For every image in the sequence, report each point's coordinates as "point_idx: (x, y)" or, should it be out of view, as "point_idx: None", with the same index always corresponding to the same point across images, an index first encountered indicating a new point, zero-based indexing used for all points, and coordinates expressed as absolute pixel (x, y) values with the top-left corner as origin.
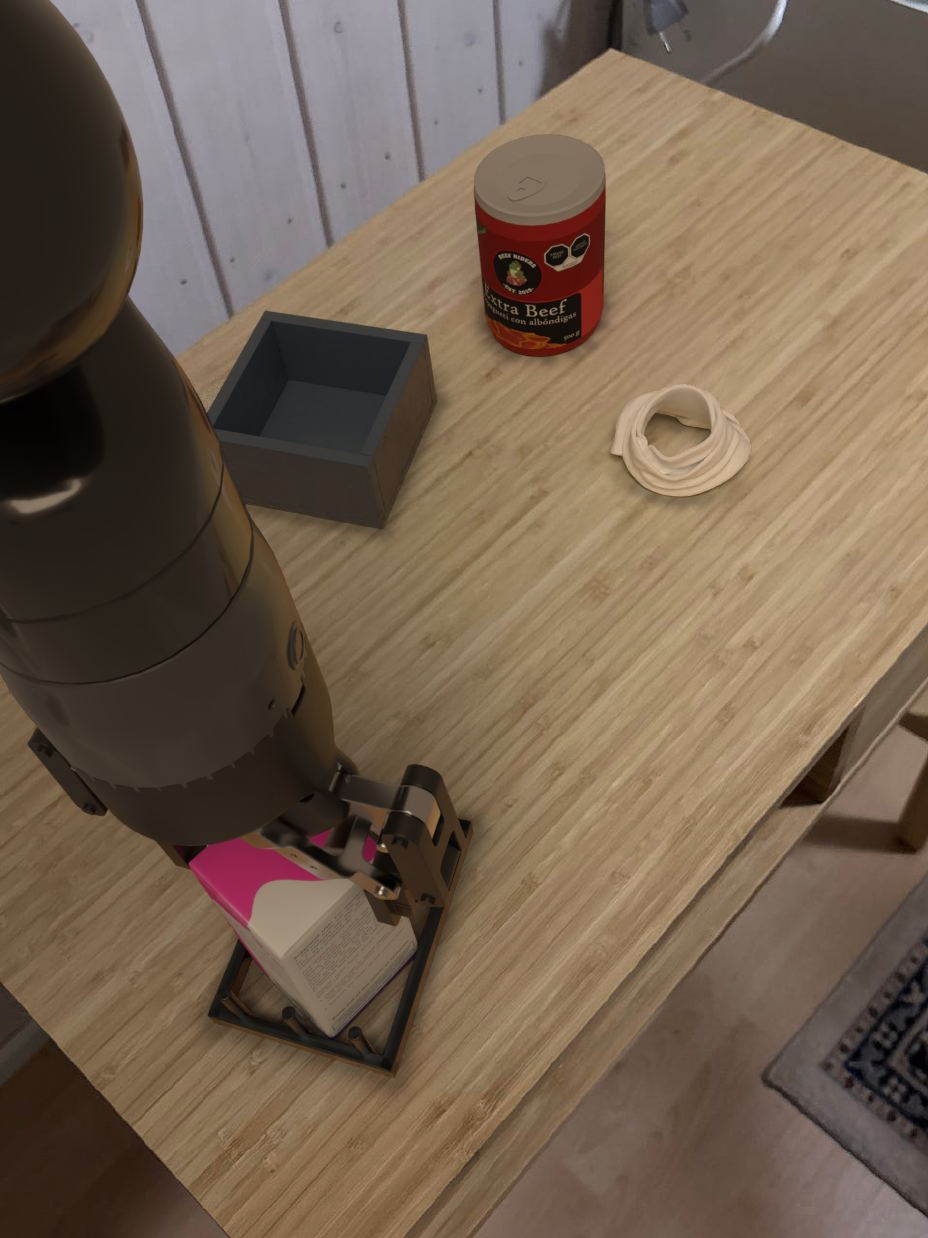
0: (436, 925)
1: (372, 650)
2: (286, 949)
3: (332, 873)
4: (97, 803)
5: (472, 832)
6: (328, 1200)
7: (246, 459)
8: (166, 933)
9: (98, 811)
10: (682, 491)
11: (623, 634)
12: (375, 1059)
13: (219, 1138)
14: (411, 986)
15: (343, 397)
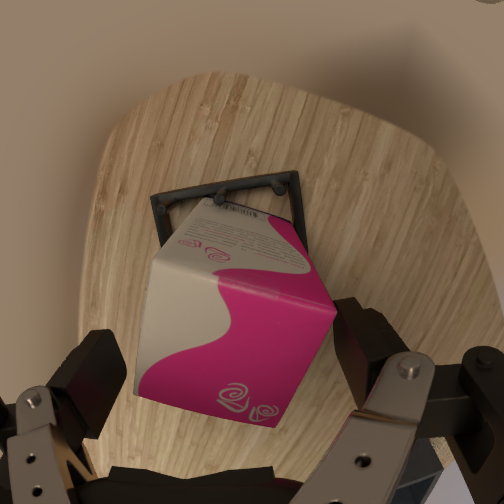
0: None
1: (313, 417)
2: (151, 273)
3: (11, 449)
4: (482, 390)
5: None
6: (158, 108)
7: (415, 469)
8: (360, 212)
9: (473, 363)
10: None
11: (185, 455)
12: (163, 199)
13: (247, 105)
14: None
15: None
